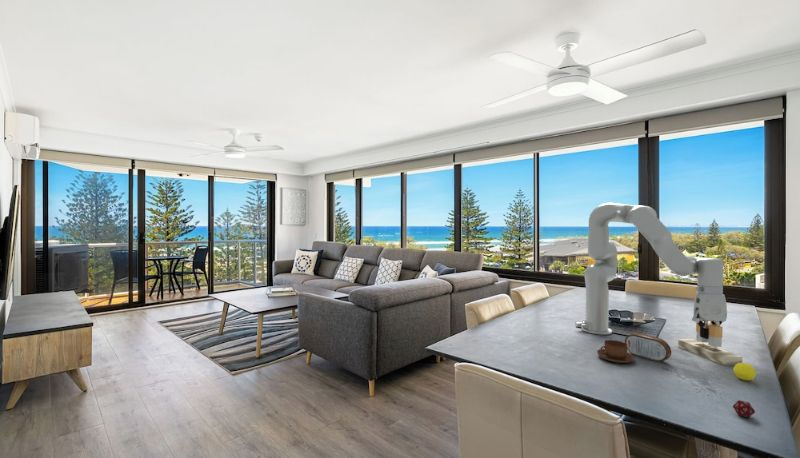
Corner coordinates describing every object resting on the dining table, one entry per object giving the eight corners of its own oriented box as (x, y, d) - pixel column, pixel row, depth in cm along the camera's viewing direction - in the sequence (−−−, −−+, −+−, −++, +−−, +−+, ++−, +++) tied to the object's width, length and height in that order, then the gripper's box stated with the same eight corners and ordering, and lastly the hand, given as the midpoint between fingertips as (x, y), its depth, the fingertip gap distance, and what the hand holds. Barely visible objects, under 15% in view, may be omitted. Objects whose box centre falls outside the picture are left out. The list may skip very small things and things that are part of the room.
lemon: (754, 385, 118) (754, 368, 118) (731, 379, 122) (731, 363, 122) (757, 379, 122) (757, 363, 122) (735, 374, 126) (735, 358, 126)
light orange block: (722, 346, 140) (722, 327, 140) (714, 347, 140) (715, 327, 140) (702, 340, 148) (703, 321, 148) (695, 340, 148) (696, 321, 148)
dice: (755, 422, 96) (755, 406, 96) (732, 416, 99) (732, 401, 99) (755, 416, 98) (755, 401, 98) (732, 410, 101) (732, 396, 101)
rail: (742, 365, 134) (742, 356, 134) (724, 365, 134) (724, 357, 134) (693, 346, 154) (694, 339, 154) (678, 346, 154) (678, 339, 154)
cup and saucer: (621, 368, 131) (621, 350, 131) (590, 356, 142) (590, 340, 141) (641, 362, 136) (642, 345, 136) (610, 352, 147) (610, 336, 147)
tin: (671, 363, 136) (672, 340, 135) (667, 365, 134) (668, 341, 134) (627, 351, 148) (627, 330, 148) (623, 352, 146) (623, 331, 146)
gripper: (698, 292, 139) (697, 341, 139) (739, 291, 141) (737, 340, 141) (681, 288, 147) (680, 335, 147) (720, 288, 148) (719, 334, 148)
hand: (708, 337), depth 144 cm, fingers closed on light orange block, 3 cm apart
